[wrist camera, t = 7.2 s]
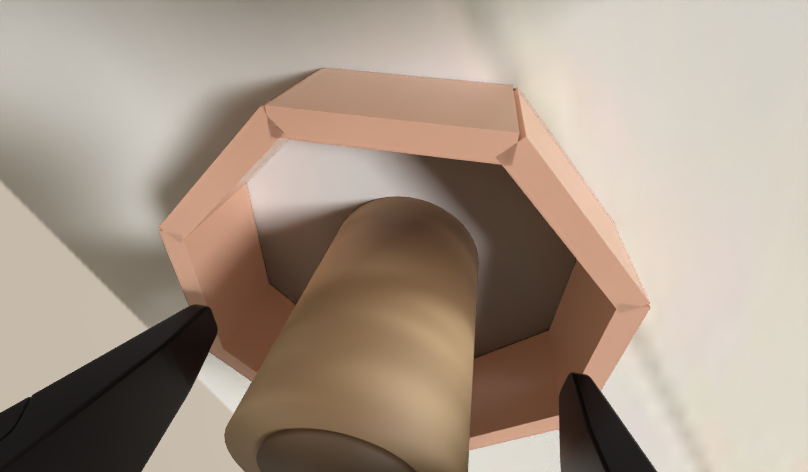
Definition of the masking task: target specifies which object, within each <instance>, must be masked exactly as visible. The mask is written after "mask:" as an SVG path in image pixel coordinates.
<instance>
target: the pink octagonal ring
mask: <svg viewBox="0 0 808 472" xmlns="http://www.w3.org/2000/svg"><path fill="white" fill-rule="evenodd" d="M287 140H297V141H305V142H314V143H322V144H331V145H339V146H348V147H356V148H365V149H373V150H382V151H390V152H399V153H407V154H416V155H424V156H433V157H441V158H450V159H458V160H467V161H475V162H483V163H492V164H500V165H502V166H503V167H504V168H505V169H506V171H507V172H508V173H509V174H510V176H511V177H512V178H513V179H514V181H515V182H516V183H517V184H518V186H519V187H520V188H521V189H522V191H523V192H524V193H525V194H526V196H527V197H528V198H529V200H530V201H531V202H532V203H533V205H534V206H535V207H536V208H537V210H538V211H539V212H540V213H541V215H542V216H543V217H544V218H545V220H546V221H547V222H548V223H549V225H550V226H551V227H552V228H553V230H554V231H555V232H556V233H557V235H558V236H559V237H560V238H561V240H562V241H563V242H564V244H565V245H566V246H567V247H568V249H569V250H570V251H571V252H572V254H573V255H574V256H575V257H576V259H577V260H576V263H575V265H574V268H573V270H572V273H571V275H570V278H569V280H568V283H567V286H566V288H565V291H564V293H563V296H562V298H561V301H560V303H559V306H558V308H557V311H556V313H555V316H554V319H553V321H552V324H551V326H550V329H549V331H546V332H543V333H541V334H538V335H535V336H533V337H530V338H528V339H525V340H522V341H520V342H517V343H514V344H512V345H509V346H506V347H504V348H501V349H499V350H496V351H493V352H491V353H488V354H485V355H483V356H480V357H478V358H475V359H474V361H473V380H472V400H471V419H470V439H469V450H473V449H477V448H481V447H485V446H490V445H494V444H498V443H502V442H507V441H511V440H515V439H519V438H524V437H528V436H532V435H536V434H541V433H545V432H549V431H553V430H558V429H559V393H560V390H561V388H562V386H563V384H564V382H565V380H566V378H567V376H568V374H569V373H571V372H576V373H582V374H586V375H588V376H590V377H591V378H592V379H593V381H594V382H595V384H596V385H597V387H598V388H599V389H600V391H601V390H602V388H603V386H604V385H605V383H606V381H607V380H608V378H609V376H610V375H611V373H612V371H613V370H614V368H615V366H616V365H617V363H618V361H619V360H620V358H621V356H622V355H623V353H624V351H625V350H626V348H627V346H628V344H629V343H630V341H631V339H632V338H633V336H634V334H635V333H636V331H637V329H638V328H639V326H640V324H641V323H642V321H643V319H644V318H645V316H646V314H647V313H648V311H649V309H650V306H649V304H650V302H649V299H648V297H647V295H646V293H645V291H644V288H643V286H642V284H641V282H640V279H639V277H638V275H637V273H636V271H635V268H634V266H633V264H632V262H631V260H630V257H629V255H628V253H627V251H626V249H625V246H624V244H623V242H622V240H621V238H620V235H619V233H618V231H617V229H616V226H615V224H614V222H613V221H612V220H611V218H610V217H609V215H608V214H607V213H606V211H605V210H604V208H603V207H602V206H601V204H600V203H599V201H598V200H597V199H596V197H595V196H594V194H593V193H592V192H591V190H590V189H589V187H588V186H587V185H586V183H585V182H584V180H583V179H582V178H581V176H580V175H579V173H578V172H577V171H576V169H575V168H574V166H573V165H572V164H571V162H570V161H569V159H568V158H567V157H566V155H565V154H564V152H563V151H562V150H561V148H560V147H559V145H558V144H557V143H556V141H555V140H554V138H553V137H552V136H551V134H550V133H549V131H548V130H547V129H546V127H545V126H544V124H543V123H542V122H541V120H540V119H539V117H538V116H537V115H536V113H535V112H534V110H533V109H532V107H531V106H530V105H529V103H528V102H527V100H526V99H525V98H524V96H523V95H522V93H521V92H520V91H519V89H518V88H517V89H516V90H514V91H513V85H504V84H494V83H483V82H472V81H461V80H450V79H439V78H429V77H418V76H407V75H396V74H385V73H374V72H363V71H353V70H342V69H331V68H322V69H321V70H317V71H316V72H314V73H313V74H311V75H310V76H308V77H306V78H305V79H303V80H302V81H300V82H299V83H297V84H295V85H294V86H292V87H291V88H289V89H288V90H286V91H284V92H283V93H281V94H280V95H278V96H277V97H275V98H273V99H272V100H270V101H269V102H267V103H266V104H264V105H262V106H261V107H259V108H258V110H257V111H256V112H255V113H254V114H253V116H252V117H251V118H250V119H249V120H248V121H247V123H246V124H245V125H244V126H243V127H242V129H241V130H240V131H239V132H238V133H237V135H236V136H235V137H234V138H233V139H232V141H231V142H230V143H229V144H228V145H227V146H226V148H225V149H224V150H223V151H222V152H221V154H220V155H219V156H218V157H217V158H216V160H215V161H214V162H213V163H212V164H211V166H210V167H209V168H208V169H207V170H206V172H205V173H204V174H203V175H202V176H201V177H200V179H199V180H198V181H197V182H196V183H195V185H194V186H193V187H192V188H191V189H190V191H189V192H188V193H187V194H186V195H185V197H184V198H183V199H182V200H181V201H180V202H179V204H178V205H177V206H176V207H175V208H174V210H173V211H172V212H171V213H170V214H169V216H168V217H167V218H166V219H165V220H164V222H163V223H162V224H161V225H160V226H159V228H161V229H160V230H159V233H160V235H161V238H162V240H163V243H164V245H165V248H166V250H167V253H168V255H169V258H170V260H171V263H172V265H173V268H174V270H175V272H176V275H177V277H178V280H179V282H180V285H181V287H182V290H183V292H184V295H185V297H186V300H187V302H188V304H189V306H190V305H193V304H199V305H205V306H209V307H210V308H211V310H212V312H213V315H214V318H215V321H216V323H217V326H218V332H217V336H216V338H215V340H214V342H213V344H212V347H211V349H210V351H209V352H210V353H211V354H213V355H214V356H216V357H217V358H219V359H220V360H222V361H223V362H224V363H226V364H227V365H229V366H230V367H232V368H233V369H235V370H236V371H237V372H239V373H240V374H242V375H243V376H245V377H246V378H248V379H249V380H250V381H253V379H254V377H255V376H256V374H257V372H258V370H259V369H260V367H261V365H262V363H263V362H264V360H265V358H266V356H267V355H268V353H269V351H270V349H271V348H272V346H273V344H274V342H275V341H276V339H277V337H278V336H279V334H280V332H281V330H282V329H283V327H284V325H285V323H286V322H287V320H288V318H289V316H290V315H291V313H292V311H293V309H294V308H295V306H296V305H295V304H294V303H293V302H291V301H290V300H289V299H288V298H286V297H285V296H284V295H283V294H281V293H280V292H279V291H278V290H276V289H275V288H274V287H273V286H272V285H270V284H269V282H268V278H267V273H266V269H265V264H264V260H263V255H262V251H261V246H260V242H259V237H258V233H257V228H256V224H255V219H254V215H253V210H252V206H251V201H250V197H249V192H248V188H247V182H248V181H249V180H250V179H251V178H252V177H253V176H254V175H255V174H256V173H257V172H258V171H259V170H260V168H261V167H262V166H263V165H264V164H265V163H266V162H267V161H268V160H269V159H270V158H271V157H272V156H273V155H274V154H275V153H276V152H277V151H278V150H279V149H280V148H281V147H282V146H283V145H284V144H285V142H286V141H287Z"/></svg>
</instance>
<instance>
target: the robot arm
mask: <svg viewBox="0 0 808 472" xmlns="http://www.w3.org/2000/svg"><path fill="white" fill-rule="evenodd" d="M217 332H218V326H217V323H216V321H215V318H214V315H213V312H212V310H211V308H210V307H209V306H205V305H199V304H193V305H190V306H189V307H187V308H185V309H183V310H181V311H180V312H178V313H176V314H174V315H173V316H171V317H169V318H167V319H166V320H164V321H162V322H160V323H159V324H157V325H155V326H153V327H151V328H150V329H148V330H146V331H144V332H143V333H141V334H139V335H138V336H136V337H134V338H132V339H130V340H129V341H127V342H125V343H123V344H121V345H120V346H118V347H117V348H115V349H113V350H111V351H109V352H108V353H106V354H104V355H102V356H101V357H99V358H97V359H95V360H93V361H92V362H90V363H88V364H86V365H84V366H83V367H81V368H79V369H77V370H76V371H74V372H72V373H70V374H68V375H67V376H65V377H63V378H61V379H60V380H58V381H56V382H54V383H53V384H51V385H49V386H47V387H46V388H44V389H42V390H40V391H39V392H37V393H35V394H33V395H32V397H28V398H26V399H24V400H22V401H21V402H19V403H17V404H15V405H14V406H12V407H10V408H8V409H6V410H5V411H3V412H1V413H0V472H141V471H142V470H143V468H144V466H145V464H146V463H147V462H148V460H149V458H150V456H151V455H152V453H153V452H154V450H155V448H156V447H157V445H158V443H159V442H160V440H161V438H162V437H163V435H164V433H165V432H166V430H167V428H168V427H169V425H170V423H171V422H172V420H173V418H174V417H175V415H176V414H177V412H178V410H179V408H180V407H181V405H182V404H183V402H184V400H185V399H186V397H187V395H188V393H189V392H190V390H191V388H192V386H193V384H194V382H195V380H196V378H197V376H198V374H199V372H200V370H201V368H202V365H203V363H204V361H205V359H206V357H207V355H208V353H209V351H210V349H211V347H212V344H213V342H214V340H215V338H216V336H217ZM559 434H560V463H561V472H657V471H656V469H655V468H654V467H653V465H652V464H651V462H650V461H649V459H648V458H647V457H646V455H645V454H644V452H643V451H642V449H641V448H640V447H639V445H638V444H637V442H636V441H635V439H634V438H633V437H632V435H631V434H630V432H629V431H628V429H627V428H626V427H625V425H624V424H623V422H622V421H621V419H620V418H619V417H618V415H617V414H616V412H615V411H614V409H613V408H612V407H611V405H610V404H609V402H608V401H607V399H606V398H605V397H604V395H603V394H602V392H601V391H600V389H599V388H598V387H597V385H596V384H595V382H594V381H593V379H592V378H591V377H590V376H588V375H586V374H582V373H576V372H571V373H569V374H568V376H567V378H566V380H565V382H564V384H563V386H562V388H561V390H560V393H559Z"/></svg>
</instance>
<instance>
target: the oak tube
mask: <svg viewBox="0 0 808 472" xmlns="http://www.w3.org/2000/svg"><path fill="white" fill-rule="evenodd" d="M478 264H479V262H478V253H477V248H476V245H475V243H474V240H473V238H472V237H471V235H470V233H469V232H468V230H467V229H466V228H465V227H464V225H463V224H462V223H461V222H460V221H459V220H458V219H457V218H455V217H454V216H453V215H451V214H450V213H449V212H447V211H446V210H444V209H442V208H440V207H439V206H436V205H434V204H432V203H430V202H426V201H423V200H420V199H415V198H410V197H386V198H380V199H376V200H373V201H370V202H368V203H365V204H363V205H361V206H360V207H358V208H357V209H355V210H354V211H353V212H352V213H351V214H349V215H348V217H347V218H346V219H345V220H344V222H343V224H342V225H341V227H340V229H339V231H338V232H337V234H336V236H335V238H334V239H333V241H332V243H331V245H330V246H329V248H328V250H327V252H326V253H325V255H324V257H323V259H322V260H321V262H320V264H319V266H318V267H317V269H316V271H315V273H314V274H313V276H312V278H311V280H310V281H309V283H308V285H307V287H306V288H305V290H304V292H303V294H302V295H301V297H300V299H299V301H298V302H297V304H296V306H295V308H294V309H293V311H292V313H291V315H290V316H289V318H288V320H287V322H286V323H285V325H284V327H283V329H282V330H281V332H280V334H279V336H278V337H277V339H276V341H275V342H274V344H273V346H272V348H271V349H270V351H269V353H268V355H267V356H266V358H265V360H264V362H263V363H262V365H261V367H260V369H259V370H258V372H257V374H256V376H255V377H254V379H253V381H252V383H251V384H250V386H249V388H248V390H247V391H246V393H245V395H244V397H243V398H242V400H241V402H240V404H239V405H238V407H237V409H236V411H235V412H234V414H233V416H232V418H231V419H230V421H229V423H228V425H227V427H226V429H225V443H226V446H227V449H228V451H229V452H230V454H231V456H232V458H233V459H234V460H235V461H236V463H237V464H238V465H239V466H240V467H241V468H242V469H243V470H244V471H245V472H468V458H469V439H470V419H471V400H472V380H473V361H474V342H475V322H476V303H477V283H478Z"/></svg>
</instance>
